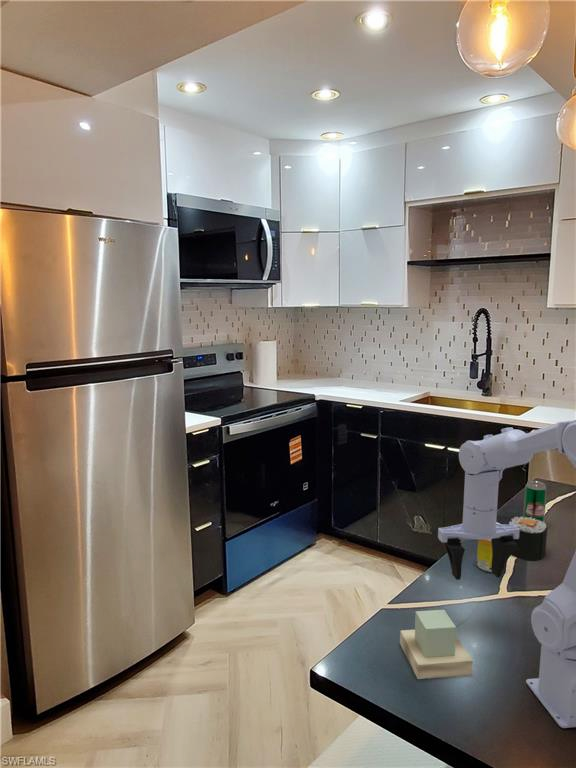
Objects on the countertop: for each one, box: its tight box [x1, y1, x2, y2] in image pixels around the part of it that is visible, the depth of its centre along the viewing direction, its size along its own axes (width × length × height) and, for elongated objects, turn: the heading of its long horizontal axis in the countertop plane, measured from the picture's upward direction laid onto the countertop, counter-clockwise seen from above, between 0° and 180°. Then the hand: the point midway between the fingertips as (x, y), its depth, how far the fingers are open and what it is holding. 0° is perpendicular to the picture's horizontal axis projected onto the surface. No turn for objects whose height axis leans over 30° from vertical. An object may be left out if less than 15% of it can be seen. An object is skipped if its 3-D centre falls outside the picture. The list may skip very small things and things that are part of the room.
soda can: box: [522, 480, 547, 523], centre depth 142 cm, size 5×5×12 cm
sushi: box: [508, 516, 548, 562], centre depth 127 cm, size 8×8×8 cm
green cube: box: [414, 609, 457, 658], centre depth 89 cm, size 5×5×5 cm
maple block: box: [399, 629, 474, 680], centre depth 90 cm, size 9×9×3 cm
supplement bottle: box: [476, 521, 501, 573], centre depth 120 cm, size 6×6×10 cm
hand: (476, 575), depth 99 cm, fingers open, 7 cm apart
